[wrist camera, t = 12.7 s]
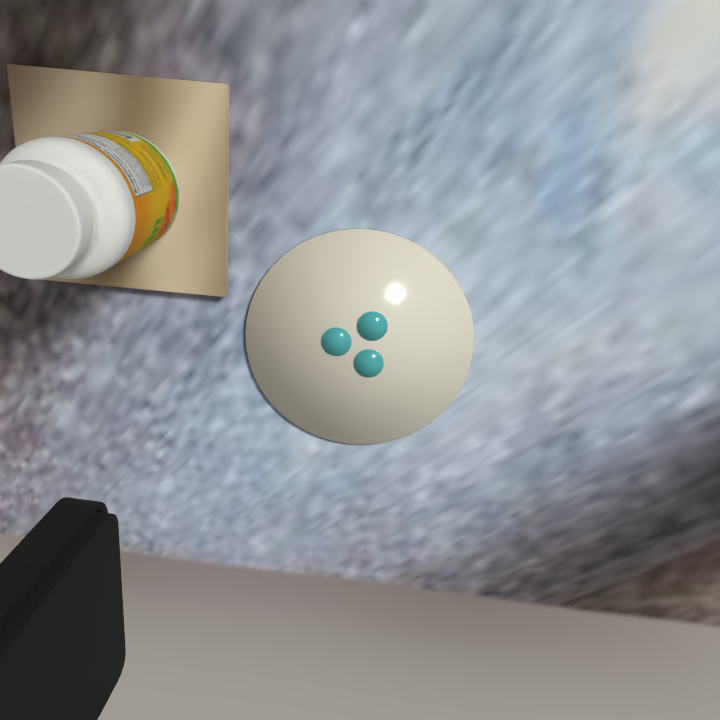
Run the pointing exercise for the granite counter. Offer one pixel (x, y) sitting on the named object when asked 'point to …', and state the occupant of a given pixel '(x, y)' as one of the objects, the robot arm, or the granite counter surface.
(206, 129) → the wooden mat
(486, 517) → the granite counter surface
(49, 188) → the supplement bottle
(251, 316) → the coaster
